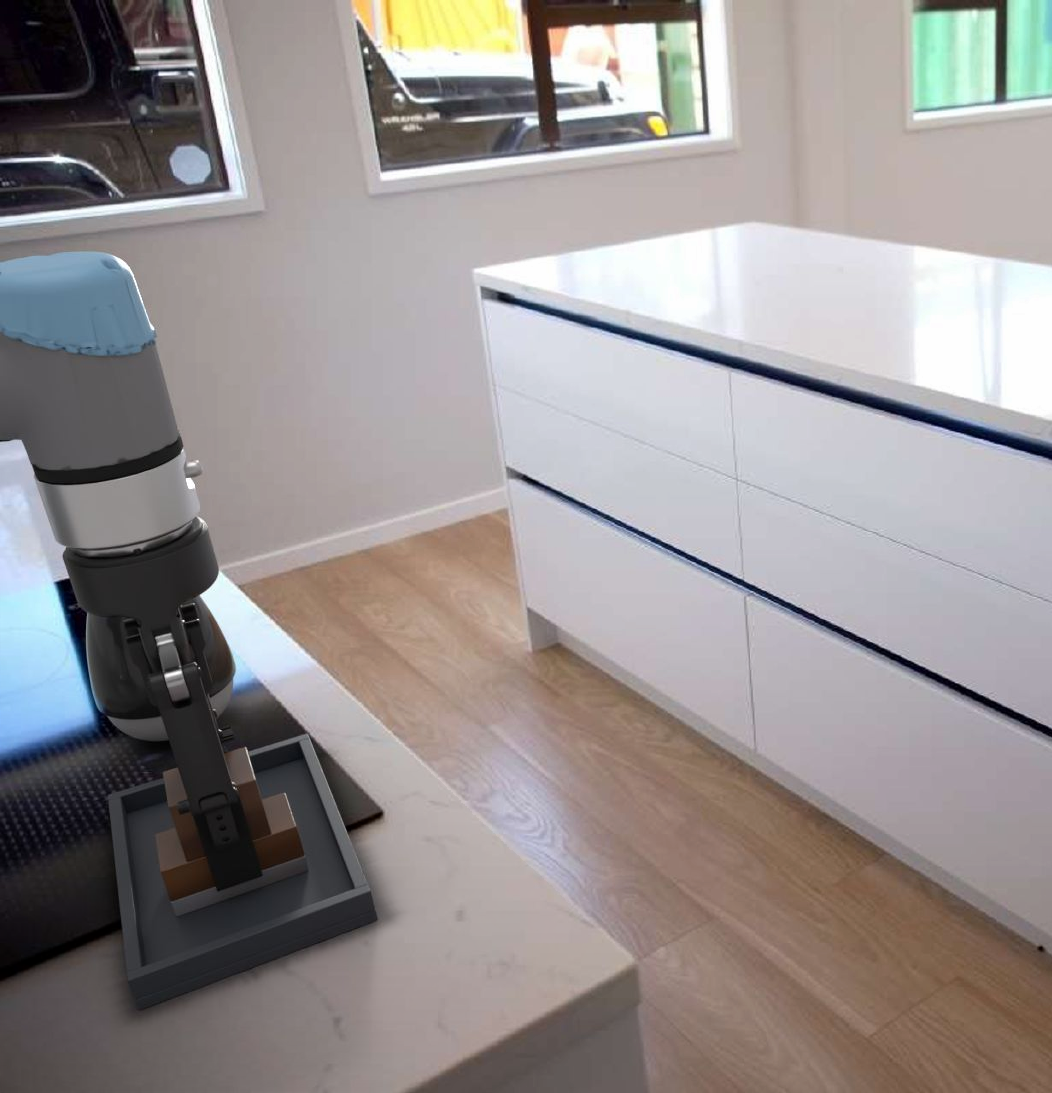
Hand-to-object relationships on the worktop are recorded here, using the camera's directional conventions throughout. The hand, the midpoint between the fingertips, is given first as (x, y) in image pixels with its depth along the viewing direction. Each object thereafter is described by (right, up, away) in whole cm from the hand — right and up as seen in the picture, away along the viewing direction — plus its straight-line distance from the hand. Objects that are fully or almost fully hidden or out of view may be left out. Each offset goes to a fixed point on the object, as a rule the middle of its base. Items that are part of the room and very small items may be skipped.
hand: (234, 857), depth 81 cm
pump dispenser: (-14, +6, +20) cm, 25 cm away
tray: (-1, -1, +3) cm, 3 cm away
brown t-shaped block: (0, -1, +1) cm, 1 cm away
